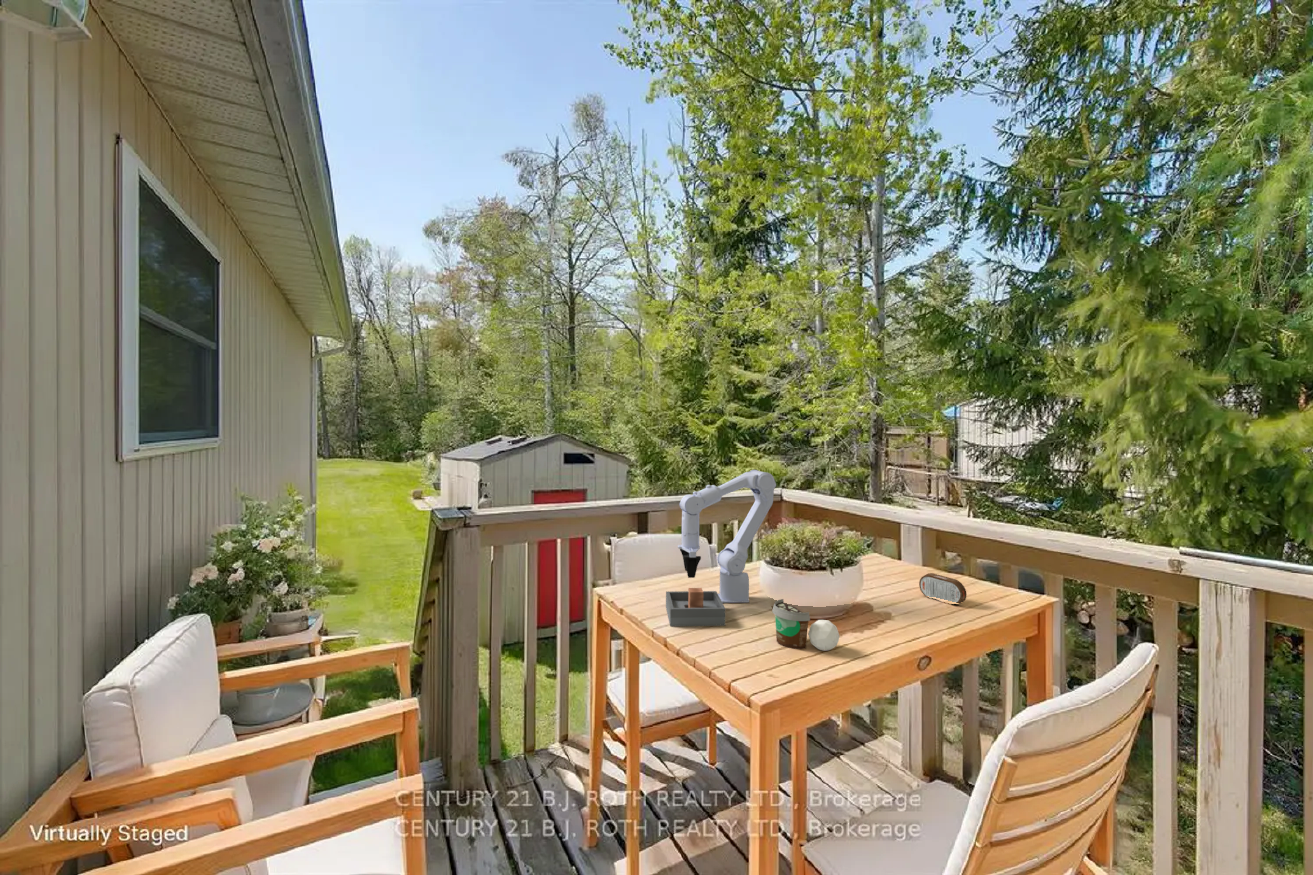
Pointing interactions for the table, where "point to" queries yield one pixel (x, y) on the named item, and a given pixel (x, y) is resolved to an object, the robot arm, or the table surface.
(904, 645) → the table surface
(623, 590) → the table surface
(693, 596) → the peg
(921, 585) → the tin
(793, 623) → the food container
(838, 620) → the table surface
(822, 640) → the ball
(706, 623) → the hole box
